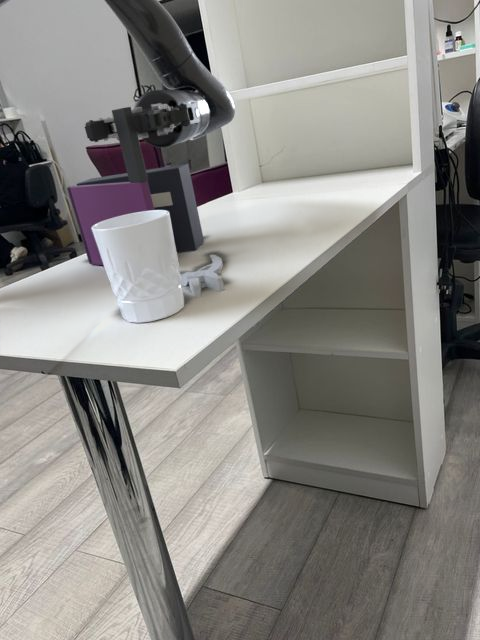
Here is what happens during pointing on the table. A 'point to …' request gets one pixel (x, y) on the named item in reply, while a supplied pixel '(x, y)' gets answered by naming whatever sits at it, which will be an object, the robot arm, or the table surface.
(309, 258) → the table surface
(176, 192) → the file box
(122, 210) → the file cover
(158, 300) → the white cup
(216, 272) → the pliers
